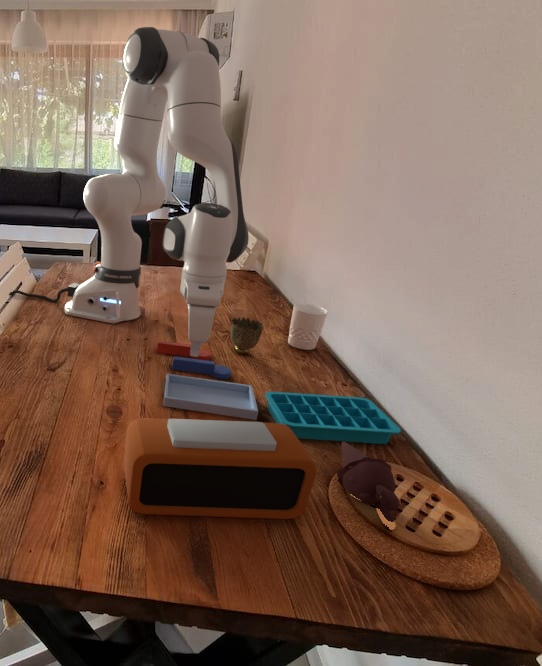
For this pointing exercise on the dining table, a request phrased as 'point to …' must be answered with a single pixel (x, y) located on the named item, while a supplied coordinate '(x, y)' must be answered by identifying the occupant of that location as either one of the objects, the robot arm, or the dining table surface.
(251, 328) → the cup
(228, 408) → the blue tray
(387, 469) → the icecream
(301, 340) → the white cup
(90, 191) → the robot arm
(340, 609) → the dining table surface
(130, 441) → the alarm clock
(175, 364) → the blue spoon
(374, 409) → the ice cube tray
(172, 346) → the red spoon
